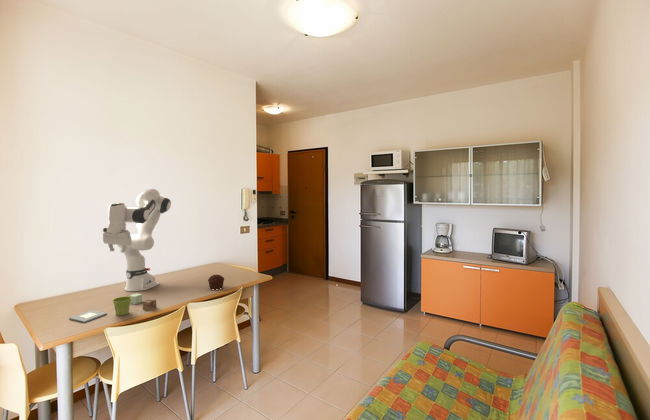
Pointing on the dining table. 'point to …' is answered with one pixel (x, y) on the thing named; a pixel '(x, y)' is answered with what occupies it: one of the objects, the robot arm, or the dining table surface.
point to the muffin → (216, 282)
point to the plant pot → (122, 305)
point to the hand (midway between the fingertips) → (117, 251)
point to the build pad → (88, 316)
